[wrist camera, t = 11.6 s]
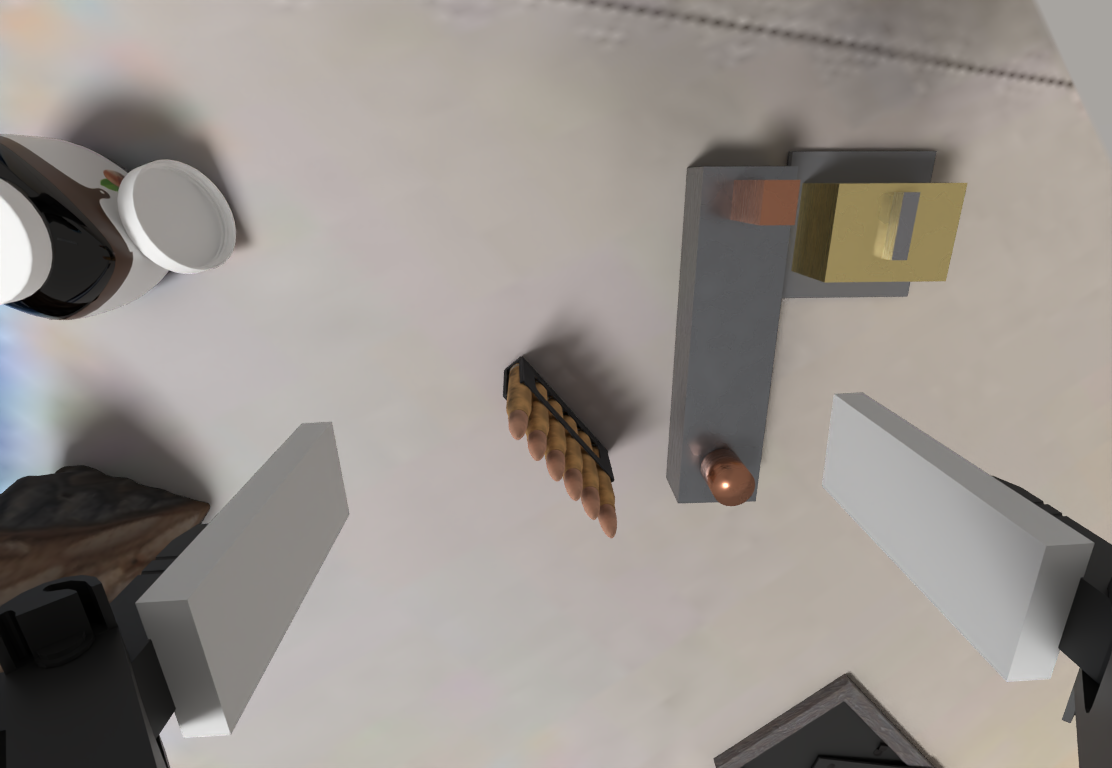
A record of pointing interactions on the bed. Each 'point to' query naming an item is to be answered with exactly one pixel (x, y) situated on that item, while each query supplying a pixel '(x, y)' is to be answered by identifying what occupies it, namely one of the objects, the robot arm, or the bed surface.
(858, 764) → the picture frame
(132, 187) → the spread jar
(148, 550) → the brown rock
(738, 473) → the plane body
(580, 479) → the ammunition clip
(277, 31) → the bed surface
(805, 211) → the lever cap
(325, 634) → the bed surface
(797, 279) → the felt mat
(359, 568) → the bed surface
